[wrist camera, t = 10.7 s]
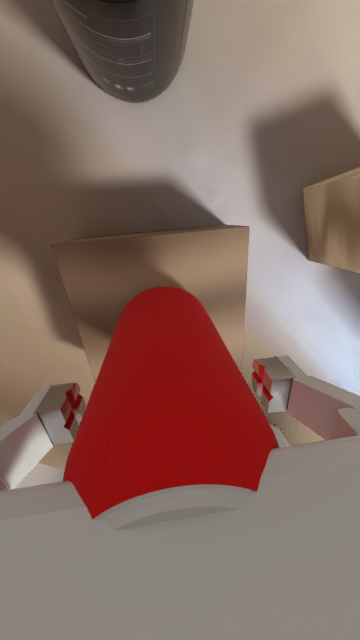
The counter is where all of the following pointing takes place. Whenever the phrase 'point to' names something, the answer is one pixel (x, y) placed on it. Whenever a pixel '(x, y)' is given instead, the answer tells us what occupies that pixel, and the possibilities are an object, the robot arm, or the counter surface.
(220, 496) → the beverage can
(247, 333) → the counter surface
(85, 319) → the walnut block
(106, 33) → the supplement bottle
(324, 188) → the oak block
